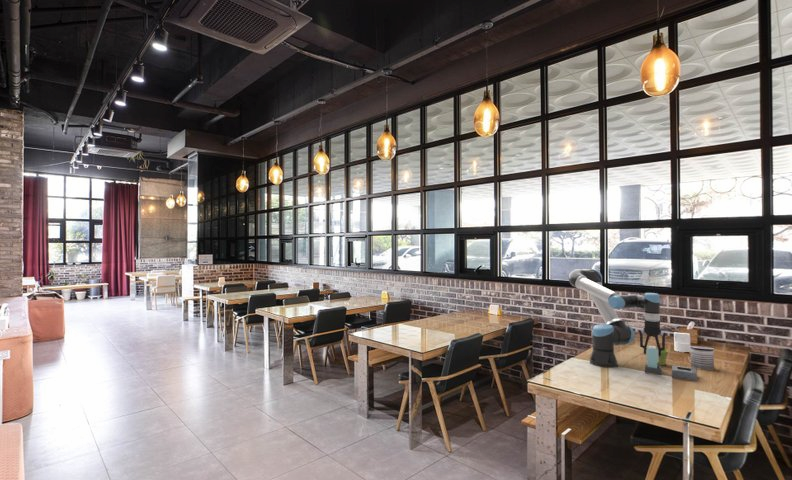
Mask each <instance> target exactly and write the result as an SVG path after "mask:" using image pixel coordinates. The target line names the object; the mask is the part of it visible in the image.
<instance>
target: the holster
mask: <svg viewBox="0 0 792 480" xmlns="http://www.w3.org/2000/svg"><path fill="white" fill-rule="evenodd" d="M662 366H663V365H657V368H650V367H648V363H646V364H645V365H644V373H647V374H653V375H659V376H661V375H662V369H663V368H662Z"/></svg>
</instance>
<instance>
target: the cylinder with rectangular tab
mask: <svg viewBox="0 0 792 480" xmlns="http://www.w3.org/2000/svg"><path fill="white" fill-rule="evenodd" d="M673 343H674V344H673V345H674V346H673V349H674V351H675V352H678V351H679V352H678V353H684V352H689V353H691V352H690V348H691V347H690V346H691V333H687V332H676V331H675V332H673Z"/></svg>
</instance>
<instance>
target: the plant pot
mask: <svg viewBox="0 0 792 480" xmlns="http://www.w3.org/2000/svg"><path fill="white" fill-rule="evenodd" d="M656 348H657V350H658V347H656ZM668 352H669V350H668V349H666V348H665V350H661V356H659V362H657V366H665V365H666V363H667V356H668Z"/></svg>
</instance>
